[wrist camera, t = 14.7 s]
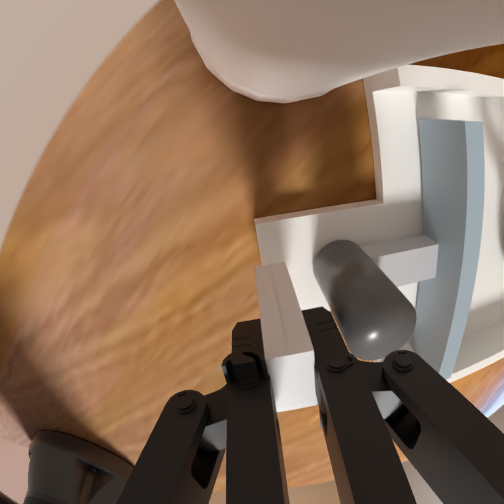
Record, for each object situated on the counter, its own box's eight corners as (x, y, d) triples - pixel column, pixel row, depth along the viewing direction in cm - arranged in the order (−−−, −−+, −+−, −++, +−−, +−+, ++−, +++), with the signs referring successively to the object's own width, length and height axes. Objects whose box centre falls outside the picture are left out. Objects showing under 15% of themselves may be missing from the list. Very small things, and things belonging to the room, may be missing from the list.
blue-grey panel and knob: (320, 369, 19) (342, 441, 14) (295, 126, 14) (333, 126, 8) (424, 341, 19) (464, 398, 14) (434, 118, 13) (513, 125, 8)
